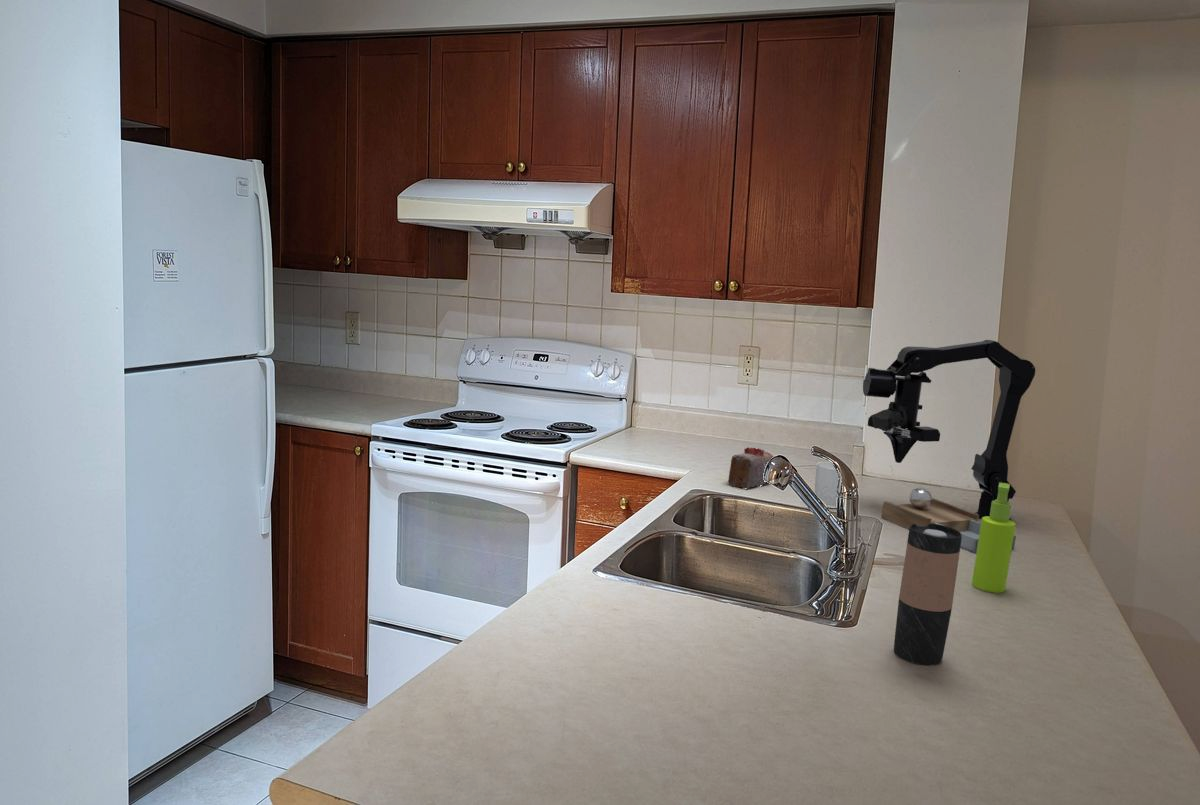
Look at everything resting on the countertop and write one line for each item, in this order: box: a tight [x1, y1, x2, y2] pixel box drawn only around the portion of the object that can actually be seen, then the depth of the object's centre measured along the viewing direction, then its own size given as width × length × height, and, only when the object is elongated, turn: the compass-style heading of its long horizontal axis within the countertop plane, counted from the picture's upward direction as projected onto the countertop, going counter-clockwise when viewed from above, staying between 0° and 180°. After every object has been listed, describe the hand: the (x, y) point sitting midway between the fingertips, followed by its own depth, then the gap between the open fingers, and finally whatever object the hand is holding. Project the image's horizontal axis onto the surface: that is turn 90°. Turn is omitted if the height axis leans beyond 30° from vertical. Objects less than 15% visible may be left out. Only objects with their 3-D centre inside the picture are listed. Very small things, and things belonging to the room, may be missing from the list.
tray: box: [934, 520, 1017, 554], centre depth 204 cm, size 12×12×3 cm
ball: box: [908, 486, 933, 509], centre depth 217 cm, size 5×5×5 cm
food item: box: [727, 446, 774, 490], centre depth 240 cm, size 14×8×10 cm, turn 143°
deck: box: [881, 497, 980, 532], centre depth 215 cm, size 16×14×4 cm
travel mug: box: [893, 523, 962, 666], centre depth 139 cm, size 8×8×20 cm
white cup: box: [814, 461, 850, 507], centre depth 225 cm, size 8×8×10 cm
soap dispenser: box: [971, 482, 1016, 594], centre depth 174 cm, size 6×7×20 cm
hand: (898, 462), depth 224 cm, fingers closed
